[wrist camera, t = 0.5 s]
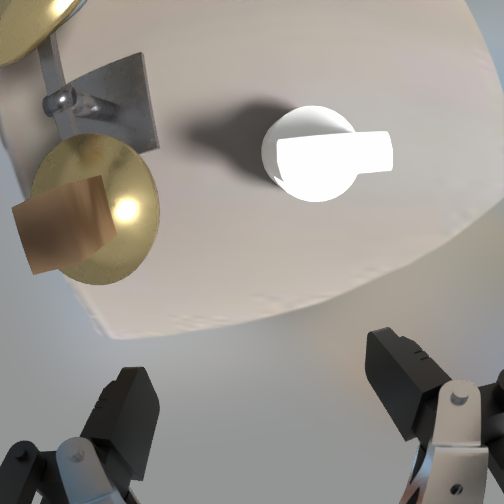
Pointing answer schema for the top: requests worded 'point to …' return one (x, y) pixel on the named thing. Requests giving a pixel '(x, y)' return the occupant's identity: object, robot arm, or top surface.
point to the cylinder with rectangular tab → (321, 153)
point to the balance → (92, 134)
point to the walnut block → (64, 224)
